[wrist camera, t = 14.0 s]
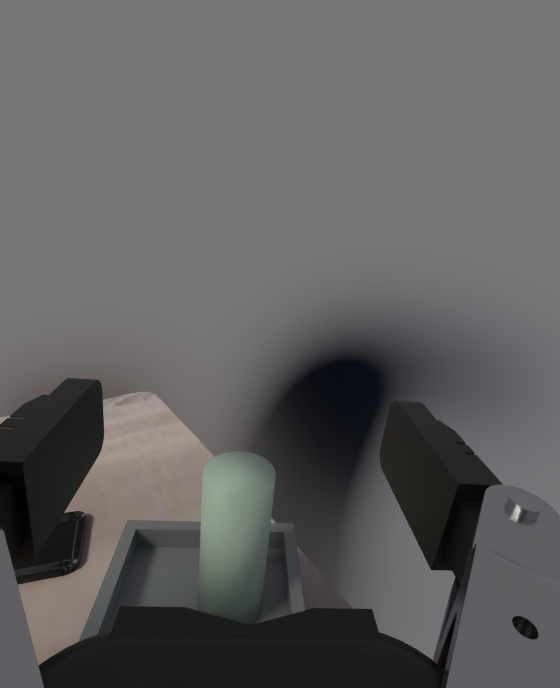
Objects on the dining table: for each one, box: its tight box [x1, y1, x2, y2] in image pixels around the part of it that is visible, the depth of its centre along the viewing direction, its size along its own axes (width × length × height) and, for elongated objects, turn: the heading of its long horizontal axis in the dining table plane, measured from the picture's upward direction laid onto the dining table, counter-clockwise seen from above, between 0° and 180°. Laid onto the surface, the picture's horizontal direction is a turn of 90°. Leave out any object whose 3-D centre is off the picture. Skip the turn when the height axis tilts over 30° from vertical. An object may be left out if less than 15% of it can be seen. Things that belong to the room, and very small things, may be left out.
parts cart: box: [79, 520, 305, 642], centre depth 31 cm, size 15×12×8 cm
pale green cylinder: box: [198, 452, 275, 624], centre depth 29 cm, size 5×5×12 cm
